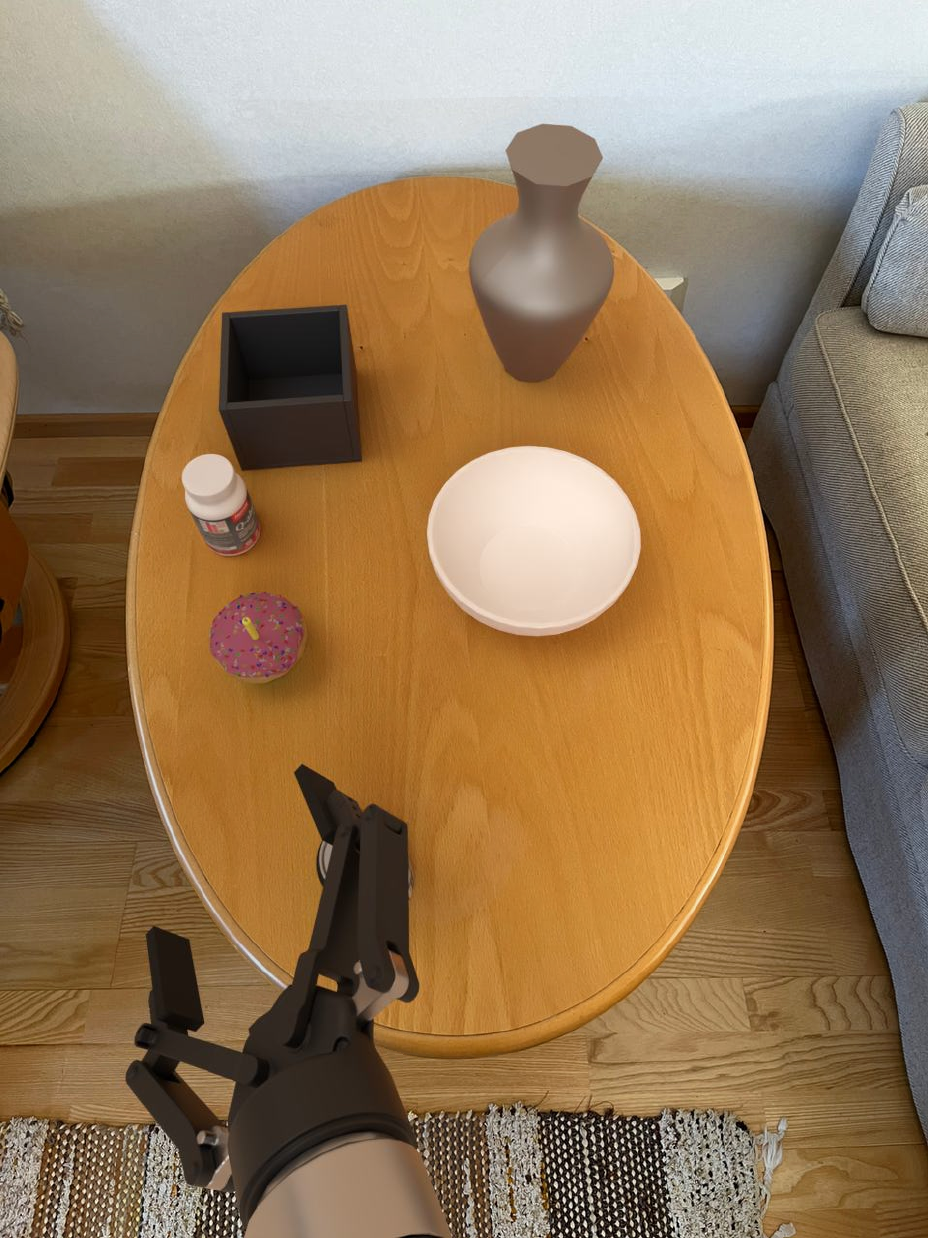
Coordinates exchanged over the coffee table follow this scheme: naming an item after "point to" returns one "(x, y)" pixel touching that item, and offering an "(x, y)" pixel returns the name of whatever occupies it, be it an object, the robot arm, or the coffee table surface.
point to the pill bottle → (220, 505)
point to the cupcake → (258, 637)
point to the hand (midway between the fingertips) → (240, 857)
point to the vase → (542, 256)
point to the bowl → (533, 540)
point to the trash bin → (289, 387)
